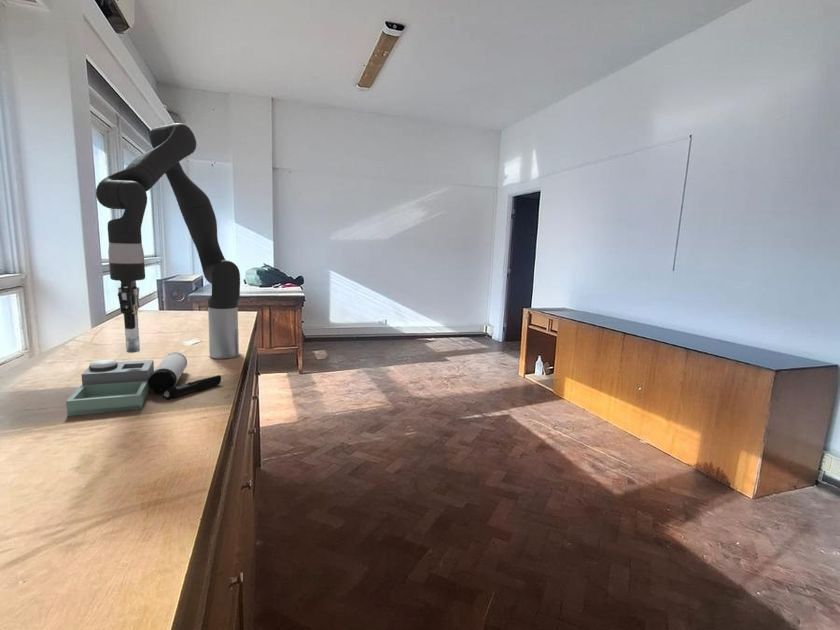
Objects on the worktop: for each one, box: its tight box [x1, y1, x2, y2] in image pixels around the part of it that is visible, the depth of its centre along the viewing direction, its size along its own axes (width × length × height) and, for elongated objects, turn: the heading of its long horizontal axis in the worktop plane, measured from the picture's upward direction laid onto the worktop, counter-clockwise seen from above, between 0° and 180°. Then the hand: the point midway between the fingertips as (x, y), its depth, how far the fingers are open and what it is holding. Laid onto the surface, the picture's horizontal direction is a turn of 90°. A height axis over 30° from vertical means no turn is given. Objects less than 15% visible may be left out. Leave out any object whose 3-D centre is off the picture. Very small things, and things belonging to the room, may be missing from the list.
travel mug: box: [148, 351, 188, 395], centre depth 120 cm, size 6×7×20 cm
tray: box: [65, 381, 149, 417], centre depth 104 cm, size 14×11×4 cm
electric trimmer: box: [161, 374, 222, 401], centre depth 115 cm, size 4×16×3 cm, turn 149°
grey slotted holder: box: [80, 359, 155, 393], centre depth 114 cm, size 14×10×7 cm
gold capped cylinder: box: [123, 309, 141, 354], centre depth 113 cm, size 3×3×11 cm
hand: (131, 326), depth 113 cm, fingers closed on gold capped cylinder, 3 cm apart
